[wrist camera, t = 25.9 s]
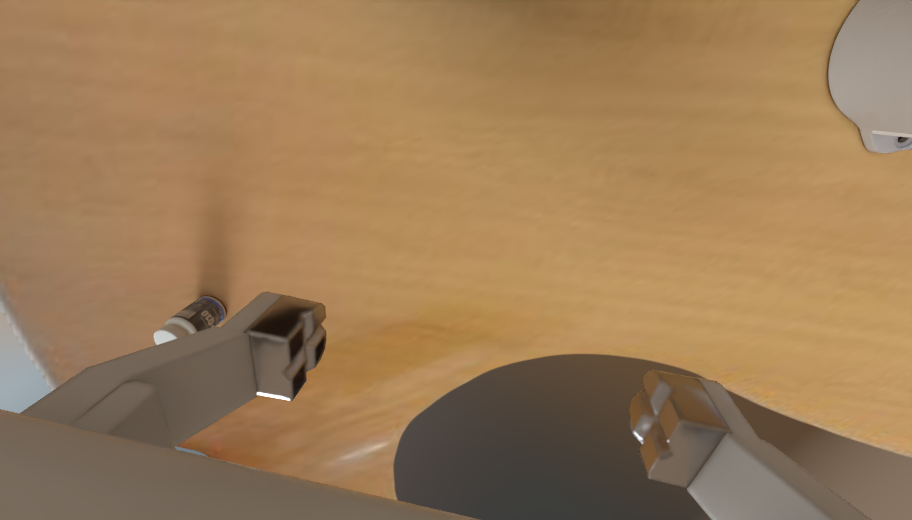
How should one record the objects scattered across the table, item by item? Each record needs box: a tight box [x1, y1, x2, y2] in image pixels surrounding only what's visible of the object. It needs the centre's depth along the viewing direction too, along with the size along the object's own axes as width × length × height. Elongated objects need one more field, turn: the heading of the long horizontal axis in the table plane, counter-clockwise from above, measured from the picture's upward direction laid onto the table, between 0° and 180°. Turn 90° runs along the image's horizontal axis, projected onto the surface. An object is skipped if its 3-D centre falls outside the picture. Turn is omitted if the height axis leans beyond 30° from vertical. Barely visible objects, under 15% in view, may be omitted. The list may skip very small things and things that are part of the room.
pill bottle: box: [154, 296, 226, 345], centre depth 53 cm, size 5×5×8 cm
